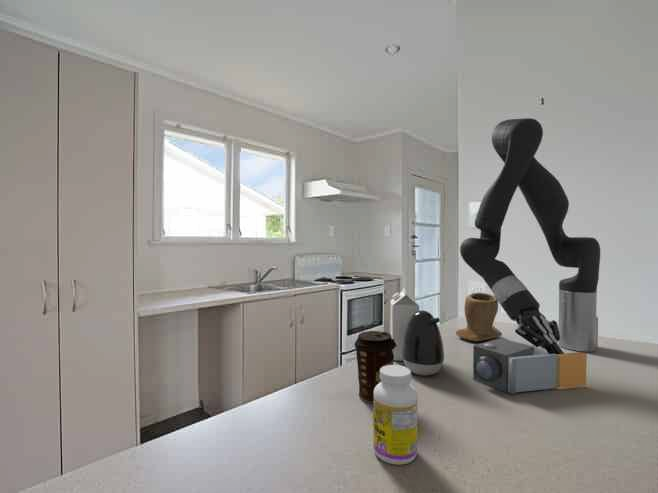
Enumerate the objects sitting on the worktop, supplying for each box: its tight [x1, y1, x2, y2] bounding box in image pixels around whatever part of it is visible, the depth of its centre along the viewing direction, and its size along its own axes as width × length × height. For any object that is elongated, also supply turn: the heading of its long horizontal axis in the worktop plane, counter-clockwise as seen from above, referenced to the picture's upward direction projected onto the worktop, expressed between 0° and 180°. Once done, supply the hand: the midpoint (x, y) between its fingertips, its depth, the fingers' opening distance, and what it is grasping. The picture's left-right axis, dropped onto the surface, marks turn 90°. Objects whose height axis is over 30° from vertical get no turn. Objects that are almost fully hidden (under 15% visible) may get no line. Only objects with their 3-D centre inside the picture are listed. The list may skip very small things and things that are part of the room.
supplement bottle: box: [372, 364, 419, 466], centre depth 53 cm, size 7×7×13 cm
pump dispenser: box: [402, 310, 445, 377], centre depth 85 cm, size 10×10×15 cm
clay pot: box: [455, 292, 503, 342], centre depth 113 cm, size 15×12×15 cm
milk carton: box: [389, 286, 420, 362], centre depth 96 cm, size 7×7×19 cm
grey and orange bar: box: [507, 351, 588, 395], centre depth 75 cm, size 19×2×7 cm, turn 102°
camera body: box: [472, 337, 535, 393], centre depth 79 cm, size 14×8×8 cm, turn 122°
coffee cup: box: [354, 330, 397, 404], centre depth 72 cm, size 9×8×13 cm
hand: (562, 361), depth 77 cm, fingers closed
